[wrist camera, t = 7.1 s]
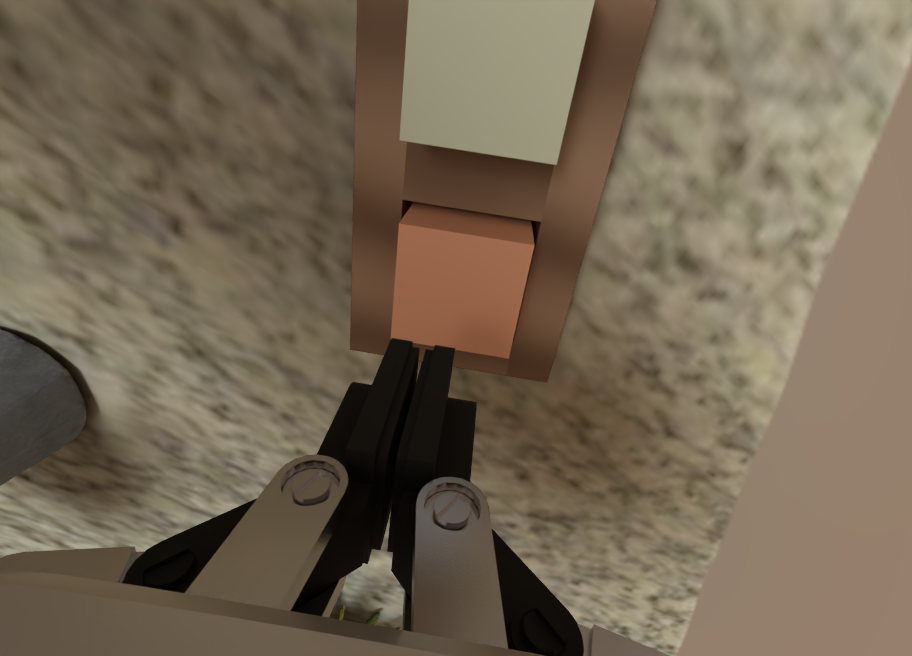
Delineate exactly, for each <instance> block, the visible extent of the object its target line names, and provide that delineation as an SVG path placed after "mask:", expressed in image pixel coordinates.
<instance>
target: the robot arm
mask: <svg viewBox="0 0 912 656" xmlns="http://www.w3.org/2000/svg"><path fill="white" fill-rule="evenodd" d="M419 352H420V348H417V347H413V342H412V341H408V340H402V339H396V338H391V340H390V342H389V345H388V347H387V350H386V352H385V355H384V357H383V359H382V362H381V364H380V367H379V369H378V372H377V374H376V376H375V379H374V381H373V384H372V385H368V384H362V383H356V382H353V383H351V385H350V386H349V388H348V390H347V392H346V394H345V397H344V399H343V401H342V403H341V405H340V407H339V409H338V411H337V413H336V415H335V418H334V420H333V422H332V424H331V426H330V428H329V430H328V432H327V434H326V436H325V438H324V441H323V443H322V445H321V447H320V449H319V451H318V453H317V455H306V456H303V457H299V458H296V459H294V460H292V461H291V462H289V463H287V464H285V465H284V466H283V467H282V468H281V469H280V470H279V471H278V472H277V474H276V475H275V476H274V478H273V479H272V480H271V481H270V483H269V484H268V485H267V487H266V488H265V489H264V491H263V492H262V493H261V494H260V496H259V497H258V498H257V499H255V500H252V501H250V502H248V503H246V504H244V505H241V506H239V507H237V508H235V509H232V510H230V511H228V512H226V513H224V514H221V515H219V516H217V517H215V518H212V519H210V520H208V521H206V522H204V523H201V524H199V525H197V526H195V527H192V528H190V529H188V530H186V531H184V532H181V533H179V534H177V535H175V536H172V537H170V538H168V539H166V540H163V541H161V542H160V543H158V544H156V545H154V546H153V547H151V548H149V549H147V550H146V551H145V552H136V550H135V547H134V546H133V547H113V548H94V549H74V550H54V551H34V552H22V553H16V554H11V555H7V556H4V557H2V558H0V656H669V655H666V654H664V653H662V652H659V651H657V650H654V649H652V648H649V647H647V646H645V645H642V644H640V643H637V642H635V641H633V640H630V639H628V638H625V637H623V636H621V635H618V634H616V633H613V632H611V631H609V630H606V629H604V628H601V627H599V626H596V625H593V627H592V629H589V628H587V627H585V626H582V625H580V624H577V622H576V621H575V619H574V618H573V617H572V615H571V614H570V612H569V611H568V610H567V609H566V608H565V607H564V606H563V604H562V603H561V602H560V601H559V600H558V599H557V598H556V597H555V596H554V595H553V594H552V593H551V592H550V591H549V589H548V588H547V587H546V586H545V585H544V584H543V583H542V582H541V581H540V580H539V579H538V578H537V577H536V575H535V574H534V573H533V572H532V571H531V570H530V569H529V568H528V567H527V566H526V565H525V564H524V563H523V562H522V560H521V559H520V558H519V557H518V556H517V555H516V554H515V553H514V552H513V551H512V550H511V549H510V548H509V546H508V545H507V544H506V543H505V542H504V541H503V540H502V539H501V538H500V537H499V536H498V535H497V534H496V533H495V531H494V530H493V529H492V528H491V520H490V513H489V506H488V503H487V500H486V497H485V496H484V495H483V493H482V492H481V490H480V489H479V488H477V487H476V486H475V485H474V484H472V483H471V482H470V477H471V465H472V453H473V441H474V429H475V417H476V402H472V401H466V400H460V399H454V398H448V392H449V385H450V379H451V373H452V366H453V360H454V354H455V348H451V347H445V346H439V345H435V346H434V350H429V349H426V350H425V354H424V357H423V361H422V365H421V368H420V372H419V375H418V379H417V370H418V361H419ZM416 379H417V383H416ZM390 511H391V517H390V528H389V538H388V549H387V551H388V552H393V559H392V569H391V571H392V572H393V574H394V575H395V577H396V578H397V580H398V581H399V582H400V584H401V585H402V587H403V588H404V590H405V592H404V604H403V629H402V630H398V629H392V628H387V627H381V626H375V625H369V624H363V623H358V622H352V621H346V620H340V619H334V618H329V616H330V614H331V612H332V610H333V608H334V606H335V604H336V601H337V599H338V597H339V595H340V593H341V591H342V589H343V586H344V583H345V580H346V575H348V574H349V573H351V572H352V571H354V570H356V569H357V568H359V567H360V566H362V563H366V564H368V561H369V557H370V554H371V550H372V549H376V550H380V549H381V546H382V542H383V538H384V534H385V531H386V527H387V523H388V519H389V515H390Z"/></svg>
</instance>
